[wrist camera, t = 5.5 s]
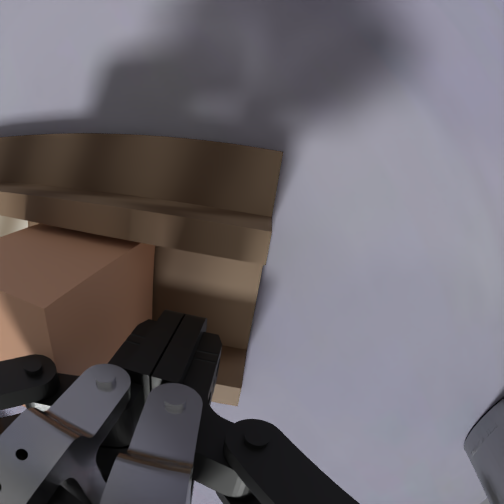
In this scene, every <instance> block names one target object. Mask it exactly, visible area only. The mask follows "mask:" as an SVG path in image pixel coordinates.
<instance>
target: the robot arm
mask: <svg viewBox="0 0 504 504" xmlns="http://www.w3.org/2000/svg"><path fill="white" fill-rule="evenodd" d="M206 328H207V318H204V317H199V316H195V315H190V314H185V313H180V312H176V311H172V310H167V309H165V310H164V311H163V313H162V314H161V315H160V317H159V318H158V320H157V321H154V320H150V319H148V320H146V321H144V322H142V323H140V324H138V325H137V326H136V328H135V329H134V330H133V331H132V333H131V335H129V336H128V338H127V339H126V341H124V343H123V344H122V345H121V347H120V348H119V349H118V350H117V352H116V353H115V354H114V356H113V357H112V358H111V359H110V361H109V362H108V363H107V364H97V365H94V366H91V367H89V368H88V369H87V370H85V371H84V372H83V373H82V374H81V375H80V376H77V375H69V374H62V373H57V369H56V366H55V363H54V362H53V361H52V360H51V359H50V358H48V357H47V356H44V355H39V354H33V355H27V356H23V357H18V358H13V359H9V360H4V361H0V410H3V409H8V408H12V407H16V406H20V405H25V406H26V408H27V409H26V410H25V411H23V412H22V413H20V414H16V415H11V416H7V417H3V418H0V504H191V503H192V495H193V488H194V481H197V482H199V483H201V484H203V485H205V486H207V487H209V488H211V489H213V490H215V491H216V493H217V495H218V497H219V498H220V500H221V501H222V502H223V504H359V503H358V502H357V501H356V500H354V499H353V498H352V497H351V496H350V495H349V494H347V493H346V492H345V491H344V490H343V489H341V488H340V487H339V486H338V485H337V484H336V483H335V482H333V481H332V480H331V479H330V478H329V477H328V476H327V475H326V474H325V473H323V472H322V471H321V470H320V469H319V468H318V467H317V466H316V465H315V464H314V463H313V462H312V461H311V460H310V459H308V458H307V457H306V456H305V455H304V454H303V453H302V452H301V451H300V450H299V449H298V448H297V447H296V446H295V445H294V444H293V443H292V442H291V441H290V440H289V439H288V438H287V437H286V436H285V435H284V434H283V433H282V432H281V431H280V430H279V429H278V428H277V427H276V426H274V425H273V424H271V423H268V422H266V421H263V420H258V419H246V420H241V421H238V422H236V423H232V422H230V421H228V420H226V419H224V418H222V417H220V416H219V415H217V414H216V413H215V412H214V411H213V409H212V408H211V407H210V404H211V400H212V396H213V392H214V388H215V385H216V381H217V377H218V370H219V363H220V356H221V349H222V342H221V340H220V337H219V335H217V334H212V333H207V332H206ZM464 450H465V451H466V453H467V455H468V457H469V459H470V461H471V463H472V465H473V467H474V469H475V472H476V474H477V476H478V478H479V480H480V482H481V485H482V487H483V489H484V491H485V493H486V496H487V498H488V500H489V502H490V504H504V399H502V400H501V401H500V402H499V403H497V404H496V405H495V406H494V407H493V408H492V409H491V410H490V411H489V412H488V413H487V414H486V415H485V416H484V417H483V418H482V419H481V420H480V421H479V422H478V423H477V424H476V426H475V427H474V428H473V429H472V431H471V432H470V434H469V435H468V437H467V439H466V441H465V444H464Z"/></svg>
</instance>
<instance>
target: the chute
mask: <svg viewBox="0 0 504 504" xmlns="http://www.w3.org/2000/svg"><path fill="white" fill-rule="evenodd" d="M282 156H283V152H281V151H275V150H269V149H263V148H257V147H251V146H244V145H237V144H230V143H222V142H214V141H206V140H197V139H187V138H176V137H164V136H150V135H131V134H97V133H74V134H41V135H24V136H11V137H0V237H2V236H5V235H8V234H11V233H13V232H16V231H19V230H22V229H25V228H28V227H30V226H33V225H36V224H39V223H41V224H46V225H51V226H56V227H61V228H66V229H71V230H77V231H82V232H87V233H92V234H97V235H103V236H108V237H113V238H118V239H124V240H129V241H134V242H140V243H145V244H150V245H155V255H154V274H153V301H152V320H154V321H157V320H158V318H159V317H160V315H161V314H162V313H163V311H164V310H165V309H167V310H172V311H176V312H180V313H185V314H190V315H195V316H199V317H204V318H207V328H206V332H207V333H212V334H217V335H219V337H220V340H221V342H222V349H221V356H220V363H219V370H218V377H217V381H216V385H215V388H214V392H213V396H212V400H211V401H212V402H217V403H222V404H228V405H233V406H238V402H239V397H240V392H241V387H242V380H243V373H244V366H245V359H246V352H247V346H248V341H249V336H250V331H251V326H252V320H253V315H254V310H255V305H256V299H257V294H258V289H259V283H260V278H261V273H262V267H263V265H266V260H267V255H268V249H269V244H270V239H271V233H272V213H273V207H274V201H275V196H276V190H277V184H278V179H279V173H280V167H281V162H282Z"/></svg>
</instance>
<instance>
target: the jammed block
mask: <svg viewBox="0 0 504 504" xmlns="http://www.w3.org/2000/svg"><path fill="white" fill-rule="evenodd" d="M154 255H155V245H150V244H145V243H140V242H134V241H129V240H124V239H118V238H113V237H108V236H103V235H97V234H92V233H87V232H82V231H77V230H71V229H66V228H61V227H56V226H51V225H46V224H41V223H39V224H36V225H33V226H30V227H28V228H25V229H22V230H19V231H16V232H13V233H11V234H8V235H5V236H2V237H0V361H4V360H9V359H13V358H18V357H23V356H27V355H33V354H39V355H44V356H47V357H48V358H50V359H51V360H52V361H53V362H54V363H55V366H56V369H57V373H62V374H69V375H77V376H80V375H81V374H82V373H83V372H84V371H85V370H87V369H88V368H89V367H91V366H94V365H97V364H107V363H108V362H109V361H110V359H111V358H112V357H113V356H114V354H115V353H116V352H117V350H118V349H119V348H120V347H121V345H122V344H123V343H124V341H126V339H127V338H128V336H129V335H131V333H132V331H133V330H134V329H135V328H136V326H137V325H138V324H140V323H142V322H144V321H146V320H148V319H150V320H152V301H153V274H154ZM23 406H24V407H26V406H25V405H23Z"/></svg>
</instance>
